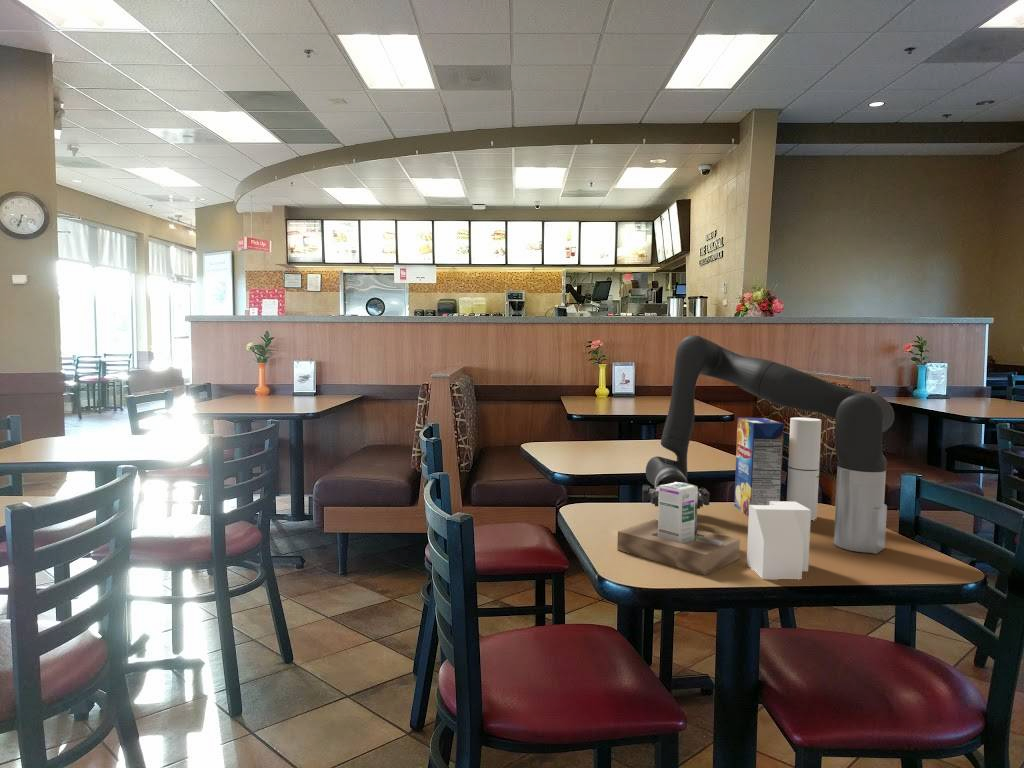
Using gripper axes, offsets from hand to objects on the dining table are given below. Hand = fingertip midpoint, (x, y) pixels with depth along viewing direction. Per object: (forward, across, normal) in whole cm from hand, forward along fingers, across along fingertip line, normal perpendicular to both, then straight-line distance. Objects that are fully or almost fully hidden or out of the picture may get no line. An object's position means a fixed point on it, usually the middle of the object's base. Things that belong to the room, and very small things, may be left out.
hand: (677, 502), depth 137 cm
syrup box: (+3, 0, +10) cm, 11 cm away
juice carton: (-36, +23, +10) cm, 44 cm away
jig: (+3, 0, +10) cm, 10 cm away
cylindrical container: (-34, +34, +10) cm, 49 cm away
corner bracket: (+8, +19, +10) cm, 23 cm away
